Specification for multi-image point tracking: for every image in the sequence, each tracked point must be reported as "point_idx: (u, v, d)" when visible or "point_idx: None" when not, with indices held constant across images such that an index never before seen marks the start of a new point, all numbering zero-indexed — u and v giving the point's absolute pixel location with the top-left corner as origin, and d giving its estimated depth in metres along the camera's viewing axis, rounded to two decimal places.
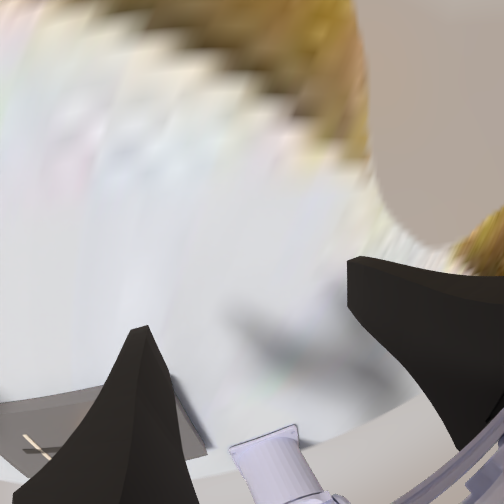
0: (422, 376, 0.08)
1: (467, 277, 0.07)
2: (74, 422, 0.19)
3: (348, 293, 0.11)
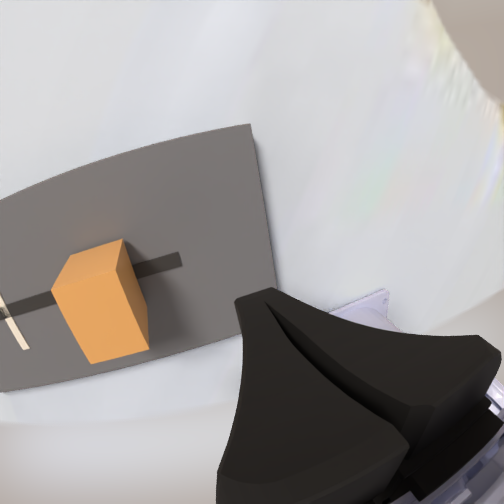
0: None
1: (376, 329, 0.06)
2: (76, 216, 0.13)
3: None
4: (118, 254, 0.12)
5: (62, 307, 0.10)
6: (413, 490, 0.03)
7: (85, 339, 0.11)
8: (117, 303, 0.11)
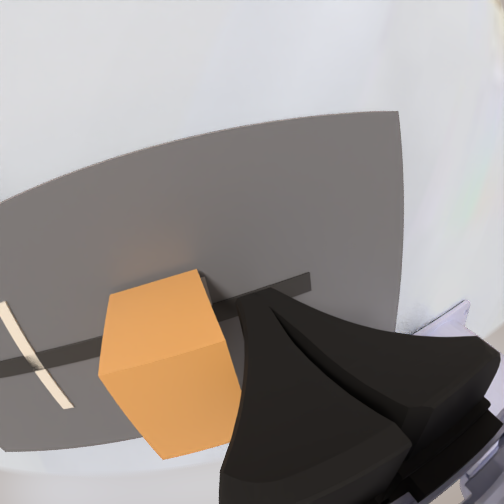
0: None
1: (376, 329, 0.06)
2: (165, 220, 0.09)
3: None
4: (208, 302, 0.08)
5: (120, 399, 0.06)
6: (412, 491, 0.03)
7: (158, 435, 0.07)
8: (220, 387, 0.07)
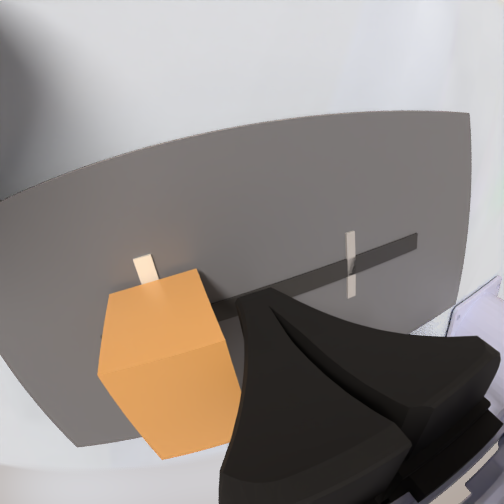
0: None
1: (376, 329, 0.06)
2: (333, 178, 0.10)
3: None
4: (208, 302, 0.08)
5: (119, 399, 0.06)
6: (412, 491, 0.03)
7: (157, 435, 0.07)
8: (220, 387, 0.07)
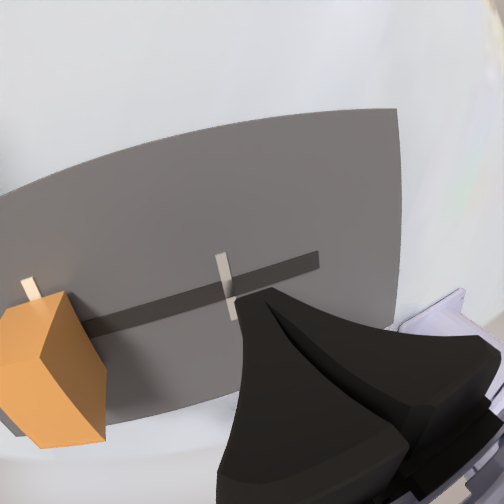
0: None
1: (377, 328, 0.06)
2: (192, 200, 0.10)
3: None
4: (51, 323, 0.08)
5: None
6: (413, 491, 0.03)
7: (26, 426, 0.07)
8: (52, 395, 0.07)
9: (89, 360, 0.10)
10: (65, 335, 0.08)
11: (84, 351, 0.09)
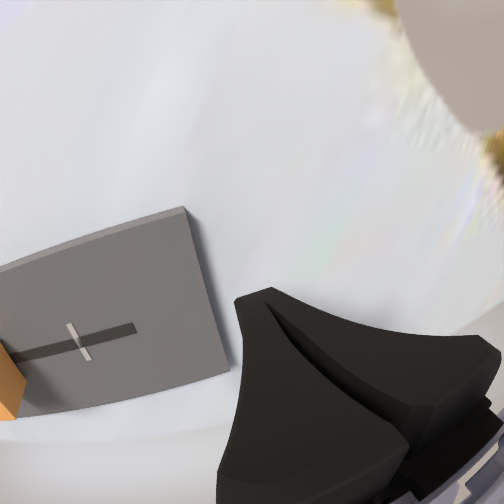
0: None
1: (376, 329, 0.06)
2: (46, 295, 0.15)
3: None
4: None
5: None
6: (413, 491, 0.03)
7: None
8: None
9: (12, 376, 0.14)
10: None
11: (9, 371, 0.14)
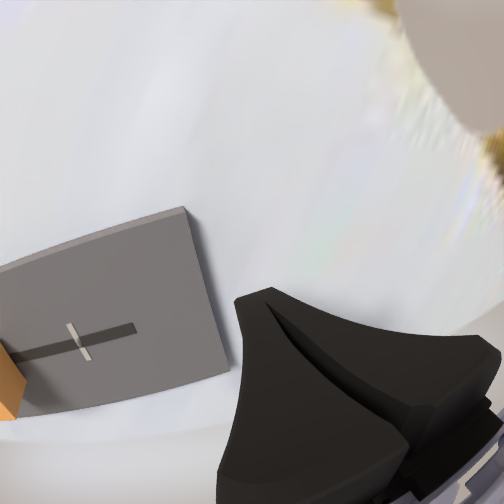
0: None
1: (376, 329, 0.06)
2: (46, 295, 0.15)
3: None
4: None
5: None
6: (413, 491, 0.03)
7: None
8: None
9: (12, 376, 0.14)
10: None
11: (9, 371, 0.14)
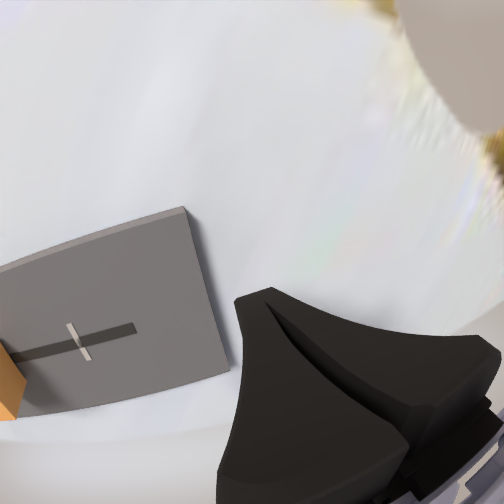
0: None
1: (376, 329, 0.06)
2: (46, 295, 0.15)
3: None
4: None
5: None
6: (413, 491, 0.03)
7: None
8: None
9: (12, 376, 0.14)
10: None
11: (9, 371, 0.14)
